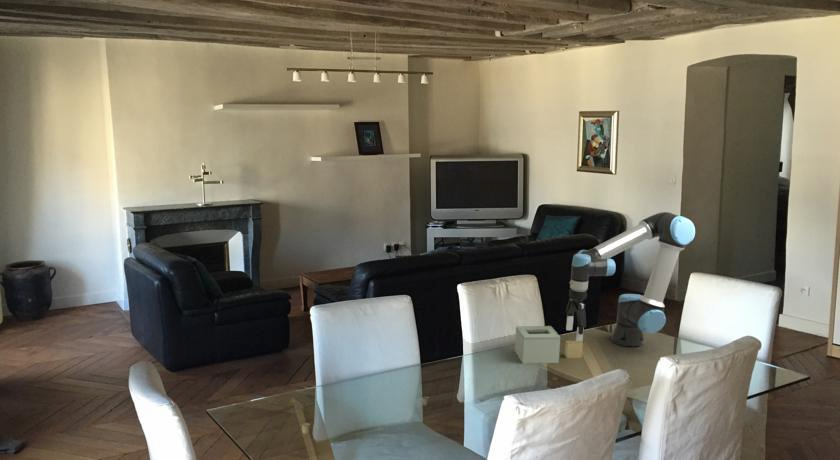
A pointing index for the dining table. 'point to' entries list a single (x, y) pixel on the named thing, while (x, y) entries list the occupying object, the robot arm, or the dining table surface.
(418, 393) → the dining table surface
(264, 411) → the dining table surface
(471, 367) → the dining table surface
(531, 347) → the box
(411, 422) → the dining table surface
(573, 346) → the tan wooden block
